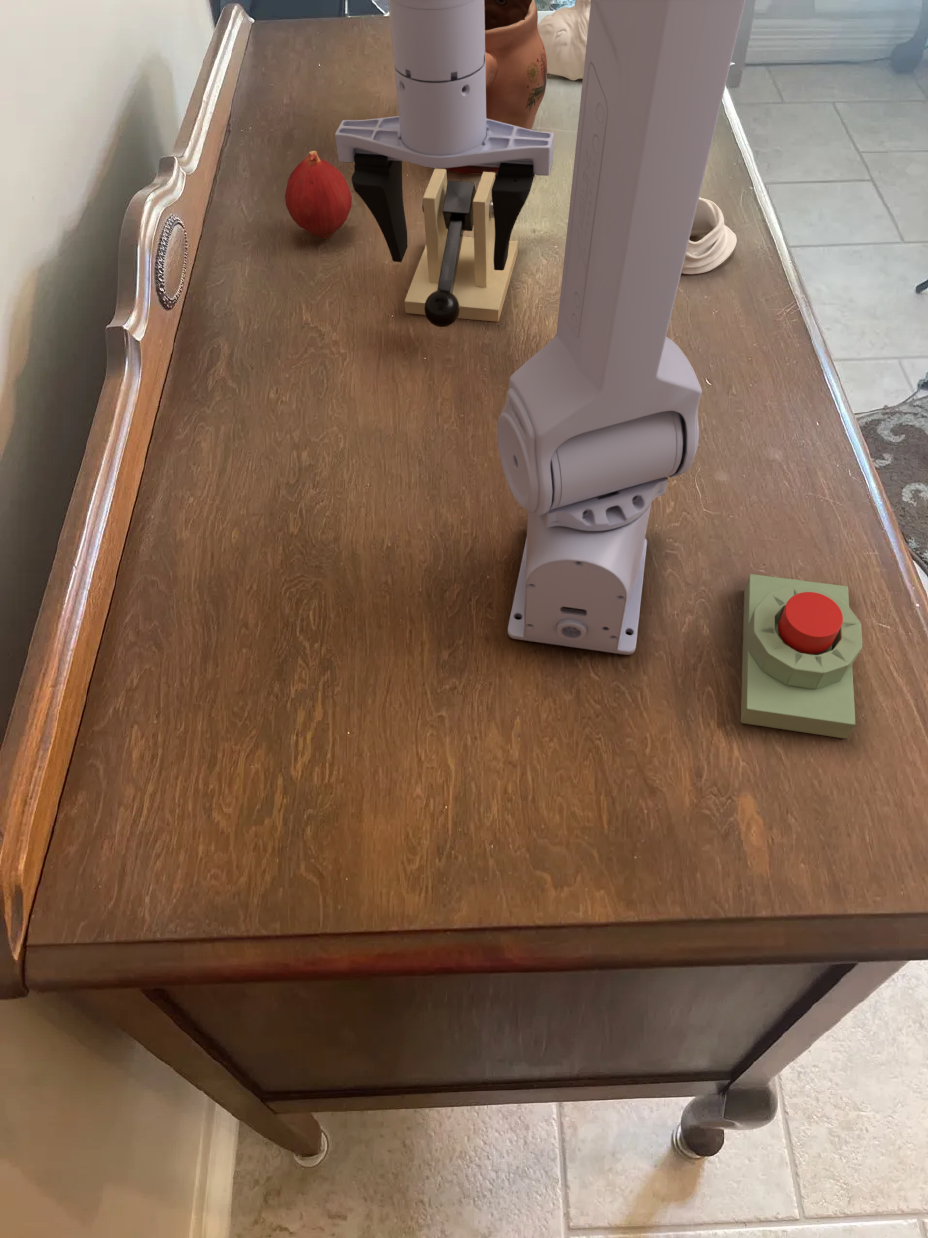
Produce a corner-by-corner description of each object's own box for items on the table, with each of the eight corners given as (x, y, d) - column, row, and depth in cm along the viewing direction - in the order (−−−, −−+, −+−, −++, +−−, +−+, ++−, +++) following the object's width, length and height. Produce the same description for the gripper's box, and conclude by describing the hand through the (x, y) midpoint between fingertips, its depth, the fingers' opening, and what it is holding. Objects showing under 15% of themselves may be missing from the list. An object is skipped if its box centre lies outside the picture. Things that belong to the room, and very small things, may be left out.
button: (835, 657, 53) (844, 640, 51) (777, 649, 53) (785, 632, 52) (833, 613, 54) (842, 595, 53) (777, 606, 55) (785, 588, 53)
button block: (847, 739, 53) (867, 708, 50) (739, 723, 54) (752, 692, 51) (840, 602, 59) (858, 567, 56) (743, 589, 60) (755, 555, 57)
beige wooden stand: (498, 321, 77) (498, 223, 69) (405, 313, 78) (395, 215, 71) (517, 252, 82) (519, 155, 75) (430, 245, 83) (423, 148, 76)
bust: (639, 86, 104) (642, -30, 101) (650, 67, 97) (654, -59, 93) (533, 90, 104) (532, -25, 101) (536, 71, 97) (536, -54, 94)
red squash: (281, 245, 84) (262, 159, 78) (315, 213, 87) (300, 127, 81) (334, 261, 82) (320, 174, 76) (368, 228, 85) (357, 141, 79)
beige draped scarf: (723, 240, 84) (737, 185, 80) (740, 277, 79) (755, 222, 76) (636, 238, 83) (646, 183, 80) (648, 275, 79) (659, 220, 75)
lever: (458, 334, 74) (454, 317, 71) (424, 331, 74) (419, 314, 71) (481, 202, 76) (478, 180, 73) (448, 199, 76) (443, 177, 73)
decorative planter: (553, 213, 86) (561, 51, 74) (423, 220, 86) (411, 60, 74) (534, 108, 97) (538, -45, 86) (419, 115, 97) (408, -38, 86)
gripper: (563, 38, 59) (554, 235, 70) (344, 28, 61) (369, 221, 72) (548, 90, 55) (541, 290, 66) (314, 78, 57) (345, 274, 68)
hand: (450, 258), depth 68 cm, fingers open, 7 cm apart
